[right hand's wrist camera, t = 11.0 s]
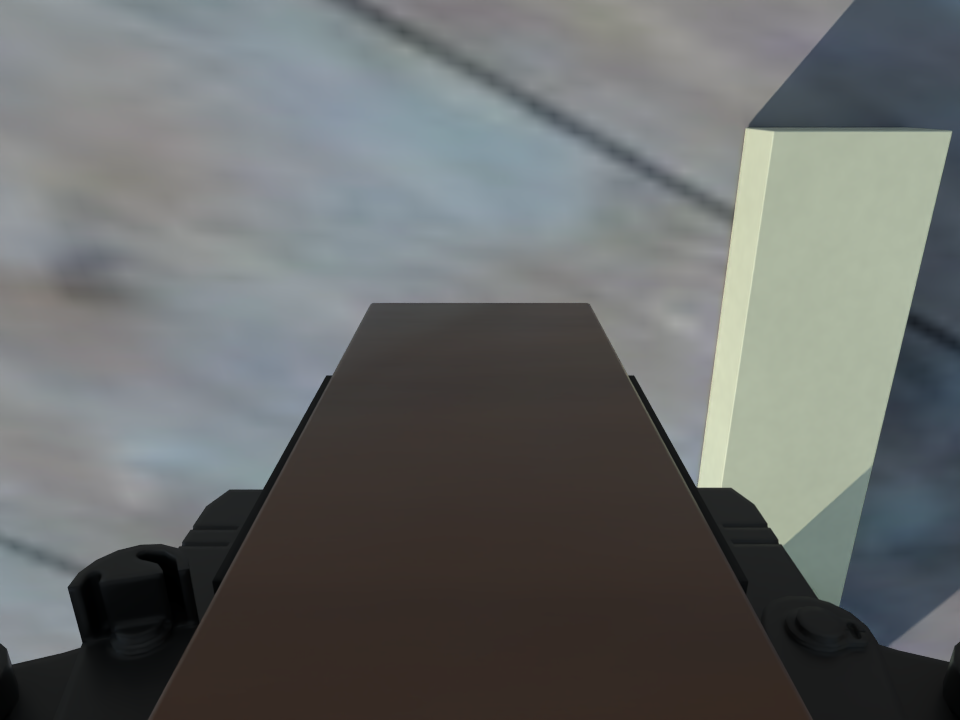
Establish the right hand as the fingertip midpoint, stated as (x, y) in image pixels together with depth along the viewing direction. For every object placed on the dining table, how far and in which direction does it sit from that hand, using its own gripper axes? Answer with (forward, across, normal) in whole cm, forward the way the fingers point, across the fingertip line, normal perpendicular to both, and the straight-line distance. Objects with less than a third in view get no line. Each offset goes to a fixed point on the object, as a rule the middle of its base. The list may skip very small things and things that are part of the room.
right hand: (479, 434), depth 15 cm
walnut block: (+2, 0, 0) cm, 2 cm away
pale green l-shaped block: (+18, +15, -7) cm, 24 cm away
